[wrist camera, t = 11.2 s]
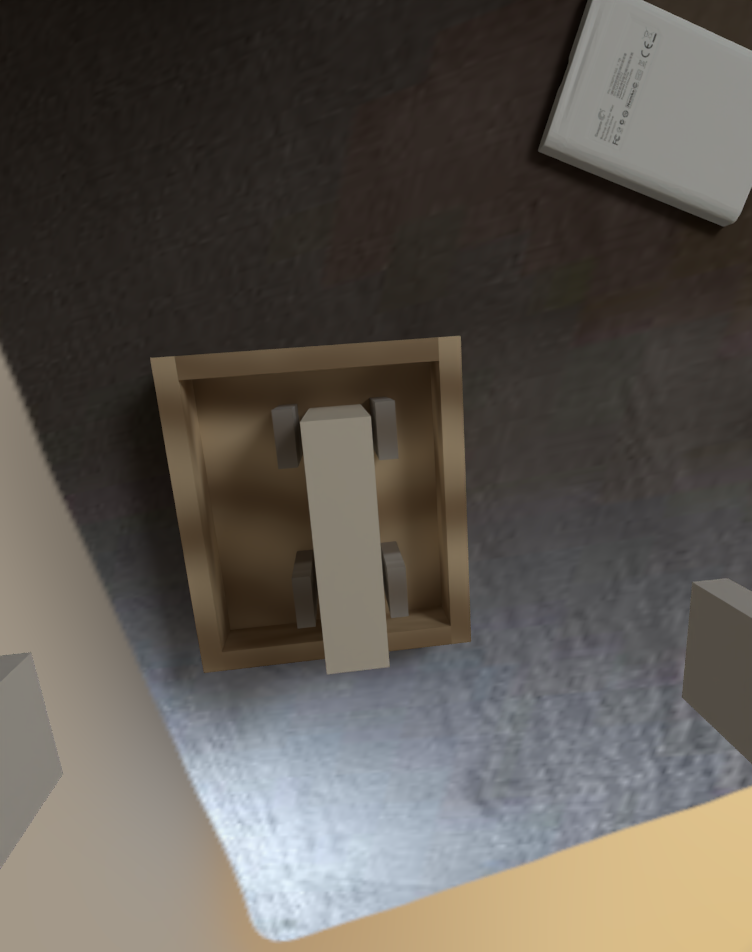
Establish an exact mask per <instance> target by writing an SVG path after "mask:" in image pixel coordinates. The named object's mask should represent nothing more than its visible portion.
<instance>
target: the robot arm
mask: <svg viewBox="0 0 752 952" xmlns="http://www.w3.org/2000/svg"><path fill="white" fill-rule="evenodd" d="M682 698H683V699H684V700H685V701H686V702H688V703H689V704H690V705H691V706H692V707H693V708H694V709H695V710H696V711H697V712H698V713H699V714H700V715H701V716H702V717H703V718H704V719H705V720H706V721H707V722H708V723H710V724H711V725H712V726H713V727H714V728H715V729H716V730H717V731H718V732H719V733H720V734H721V735H722V736H723V737H724V738H725V739H726V740H727V741H728V742H729V743H731V744H732V745H733V746H734V747H735V748H736V749H737V750H738V751H739V752H740V753H741V754H742V755H743V756H744V757H745V758H746V759H747V760H748V761H749V762H750V763H751V764H752V591H750V590H748V589H746V588H744V587H742V586H741V585H739V584H737V583H735V582H733V581H731V580H729V579H728V578H726V579H716V580H707V581H698V582H692V592H691V603H690V614H689V625H688V636H687V647H686V658H685V669H684V680H683V691H682ZM62 774H63V772H62V768H61V764H60V760H59V757H58V752H57V749H56V745H55V741H54V737H53V733H52V730H51V726H50V722H49V718H48V714H47V711H46V707H45V703H44V700H43V696H42V692H41V688H40V684H39V680H38V676H37V672H36V669H35V665H34V661H33V657H32V653H22V654H12V655H3V656H0V869H1V867H2V866H3V864H4V863H5V861H6V860H7V858H8V857H9V855H10V853H11V851H12V850H13V849H14V847H15V846H16V844H17V843H18V841H19V840H20V838H21V837H22V835H23V834H24V832H25V831H26V829H27V828H28V826H29V824H30V823H31V822H32V820H33V819H34V817H35V816H36V814H37V813H38V811H39V809H40V808H41V806H42V805H43V803H44V802H45V800H46V799H47V797H48V796H49V794H50V793H51V791H52V790H53V788H54V787H55V785H56V784H57V782H58V781H59V779H60V778H61V776H62Z"/></svg>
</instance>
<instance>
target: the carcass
mask: <svg viewBox="0 0 752 952" xmlns="http://www.w3.org/2000/svg"><path fill="white" fill-rule="evenodd" d="M150 360H151V366H152V372H153V378H154V383H155V389H156V395H157V401H158V407H159V413H160V419H161V424H162V430H163V436H164V442H165V448H166V454H167V460H168V465H169V471H170V477H171V483H172V489H173V495H174V501H175V507H176V512H177V518H178V524H179V530H180V536H181V542H182V548H183V553H184V559H185V565H186V571H187V577H188V583H189V589H190V595H191V600H192V606H193V612H194V618H195V624H196V630H197V636H198V641H199V647H200V653H201V659H202V665H203V671H204V673H208V672H216V671H225V670H233V669H242V668H251V667H259V666H268V665H276V664H285V663H293V662H302V661H310V660H319V659H325V651H324V642H323V633H322V623H321V614H320V605H319V595H318V586H317V577H316V567H315V558H314V549H313V539H312V530H311V521H310V511H309V502H308V493H307V483H306V474H305V465H304V455H303V446H302V437H301V427H300V421H301V420H302V418H303V417H304V415H305V413H306V412H307V410H308V409H309V408H317V407H330V406H342V405H355V404H361V405H362V407H363V408H364V409H365V410H366V411H367V412H368V414H369V415H370V416H371V425H372V439H373V452H374V465H375V479H376V492H377V505H378V519H379V532H380V545H381V559H382V572H383V585H384V599H385V612H386V625H387V639H388V651H396V650H404V649H413V648H421V647H430V646H439V645H447V644H456V643H464V642H471V627H470V597H469V568H468V539H467V510H466V481H465V451H464V422H463V393H462V364H461V336H451V337H437V338H423V339H409V340H395V341H382V342H368V343H354V344H340V345H326V346H312V347H298V348H284V349H270V350H256V351H242V352H228V353H214V354H200V355H186V356H172V357H158V358H150Z"/></svg>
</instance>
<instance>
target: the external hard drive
mask: <svg viewBox="0 0 752 952" xmlns="http://www.w3.org/2000/svg"><path fill="white" fill-rule="evenodd" d="M538 152H541V153H543V154H546V155H548V156H550V157H553V158H556V159H558V160H560V161H562V162H565V163H567V164H570V165H572V166H575V167H577V168H580V169H582V170H585V171H587V172H590V173H592V174H594V175H597V176H599V177H602V178H604V179H607V180H609V181H612V182H614V183H616V184H619V185H621V186H624V187H626V188H629V189H631V190H634V191H636V192H639V193H641V194H644V195H646V196H649V197H651V198H654V199H656V200H659V201H661V202H664V203H666V204H668V205H671V206H673V207H676V208H678V209H681V210H683V211H686V212H688V213H691V214H693V215H696V216H698V217H701V218H703V219H706V220H708V221H711V222H713V223H716V224H718V225H720V226H723V227H724V226H727V225H729V224H732V223H734V222H735V221H736V220H737V218H738V217H739V215H740V213H741V211H742V209H743V206H744V204H745V201H746V199H747V197H748V194H749V191H750V189H751V187H752V51H751V50H749V49H747V48H744V47H742V46H740V45H738V44H736V43H734V42H731V41H729V40H727V39H725V38H723V37H721V36H718V35H716V34H714V33H712V32H710V31H707V30H705V29H703V28H701V27H699V26H697V25H695V24H693V23H690V22H688V21H686V20H684V19H682V18H680V17H678V16H675V15H673V14H671V13H669V12H667V11H665V10H663V9H660V8H658V7H656V6H654V5H652V4H649V3H647V2H645V1H643V0H588V1H587V4H586V7H585V10H584V13H583V16H582V19H581V22H580V25H579V28H578V31H577V34H576V37H575V40H574V43H573V46H572V49H571V52H570V55H569V63H568V66H567V69H566V71H565V74H564V77H563V80H562V83H561V85H560V87H559V89H558V91H557V94H556V97H555V100H554V103H553V106H552V109H551V112H550V115H549V118H548V121H547V124H546V127H545V130H544V133H543V136H542V139H541V142H540V145H539V148H538Z"/></svg>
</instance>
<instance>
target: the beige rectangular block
mask: <svg viewBox="0 0 752 952" xmlns="http://www.w3.org/2000/svg"><path fill="white" fill-rule="evenodd" d="M300 427H301V437H302V446H303V455H304V465H305V474H306V483H307V493H308V502H309V511H310V521H311V530H312V539H313V549H314V558H315V567H316V577H317V586H318V595H319V605H320V614H321V623H322V633H323V642H324V651H325V661H326V670H327V674H334V673H343V672H351V671H360V670H368V669H377V668H385V667H390V665H389V652H388V639H387V625H386V612H385V599H384V585H383V572H382V559H381V545H380V532H379V519H378V505H377V492H376V479H375V465H374V452H373V439H372V425H371V416H370V415H369V414H368V412H367V411H366V410H365V409H364V408H363V407H362V405H361V404H355V405H342V406H330V407H317V408H309V409H308V410H307V412H306V413H305V415H304V417H303V418H302V420H301V421H300Z"/></svg>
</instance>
